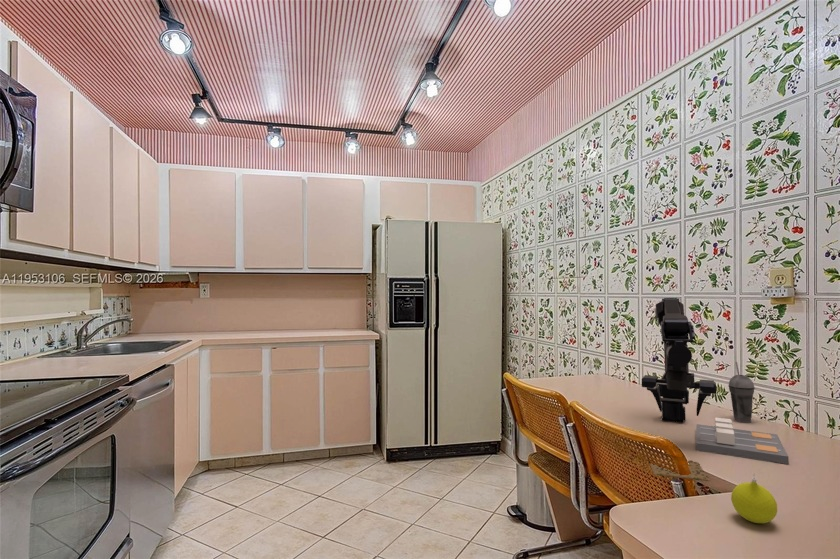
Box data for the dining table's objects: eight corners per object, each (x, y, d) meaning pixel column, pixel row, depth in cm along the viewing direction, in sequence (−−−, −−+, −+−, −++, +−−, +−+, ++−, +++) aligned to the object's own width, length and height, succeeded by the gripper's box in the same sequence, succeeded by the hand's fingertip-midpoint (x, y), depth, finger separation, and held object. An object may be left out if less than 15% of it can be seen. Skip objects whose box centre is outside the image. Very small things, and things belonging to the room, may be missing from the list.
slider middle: (716, 436, 125) (716, 426, 125) (716, 432, 129) (715, 422, 129) (733, 438, 123) (733, 428, 123) (732, 434, 126) (732, 424, 127)
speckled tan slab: (646, 458, 117) (646, 455, 117) (698, 464, 113) (698, 460, 113) (652, 476, 106) (652, 472, 106) (710, 483, 101) (710, 479, 101)
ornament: (753, 532, 80) (751, 477, 80) (723, 513, 87) (721, 463, 87) (788, 529, 81) (785, 475, 81) (755, 510, 88) (753, 461, 88)
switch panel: (695, 450, 121) (695, 442, 121) (696, 430, 138) (696, 423, 138) (788, 464, 110) (788, 455, 110) (777, 441, 127) (777, 433, 127)
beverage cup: (761, 424, 142) (758, 363, 143) (736, 423, 144) (733, 363, 145) (749, 418, 150) (746, 360, 150) (725, 417, 151) (723, 360, 152)
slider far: (715, 430, 130) (715, 420, 130) (715, 427, 134) (715, 417, 134) (732, 432, 128) (731, 422, 128) (731, 429, 131) (731, 419, 132)
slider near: (717, 442, 120) (716, 431, 120) (716, 438, 124) (716, 427, 124) (734, 445, 118) (734, 434, 118) (733, 440, 121) (733, 430, 121)
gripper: (638, 361, 126) (640, 415, 125) (716, 367, 116) (718, 425, 115) (642, 356, 135) (644, 406, 135) (714, 360, 125) (717, 415, 125)
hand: (678, 413), depth 127 cm, fingers open, 9 cm apart
